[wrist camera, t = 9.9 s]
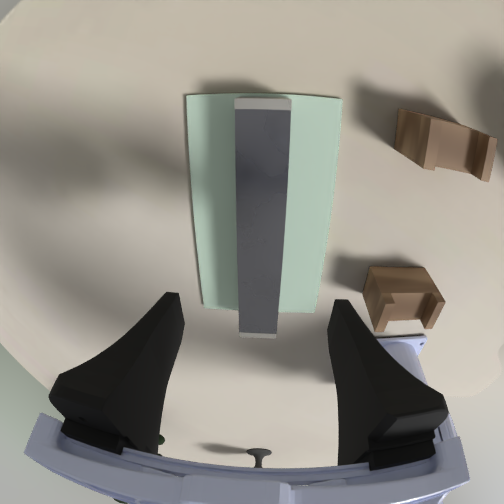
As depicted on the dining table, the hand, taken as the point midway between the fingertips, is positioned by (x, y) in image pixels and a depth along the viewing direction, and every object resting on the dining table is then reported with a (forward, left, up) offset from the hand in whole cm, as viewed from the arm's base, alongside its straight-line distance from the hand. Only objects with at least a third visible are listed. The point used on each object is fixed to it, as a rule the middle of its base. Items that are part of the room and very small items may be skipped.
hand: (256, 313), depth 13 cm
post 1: (-5, -12, -10) cm, 17 cm away
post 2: (+8, -12, -10) cm, 17 cm away
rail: (0, 0, -10) cm, 10 cm away
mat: (0, 0, -10) cm, 10 cm away
